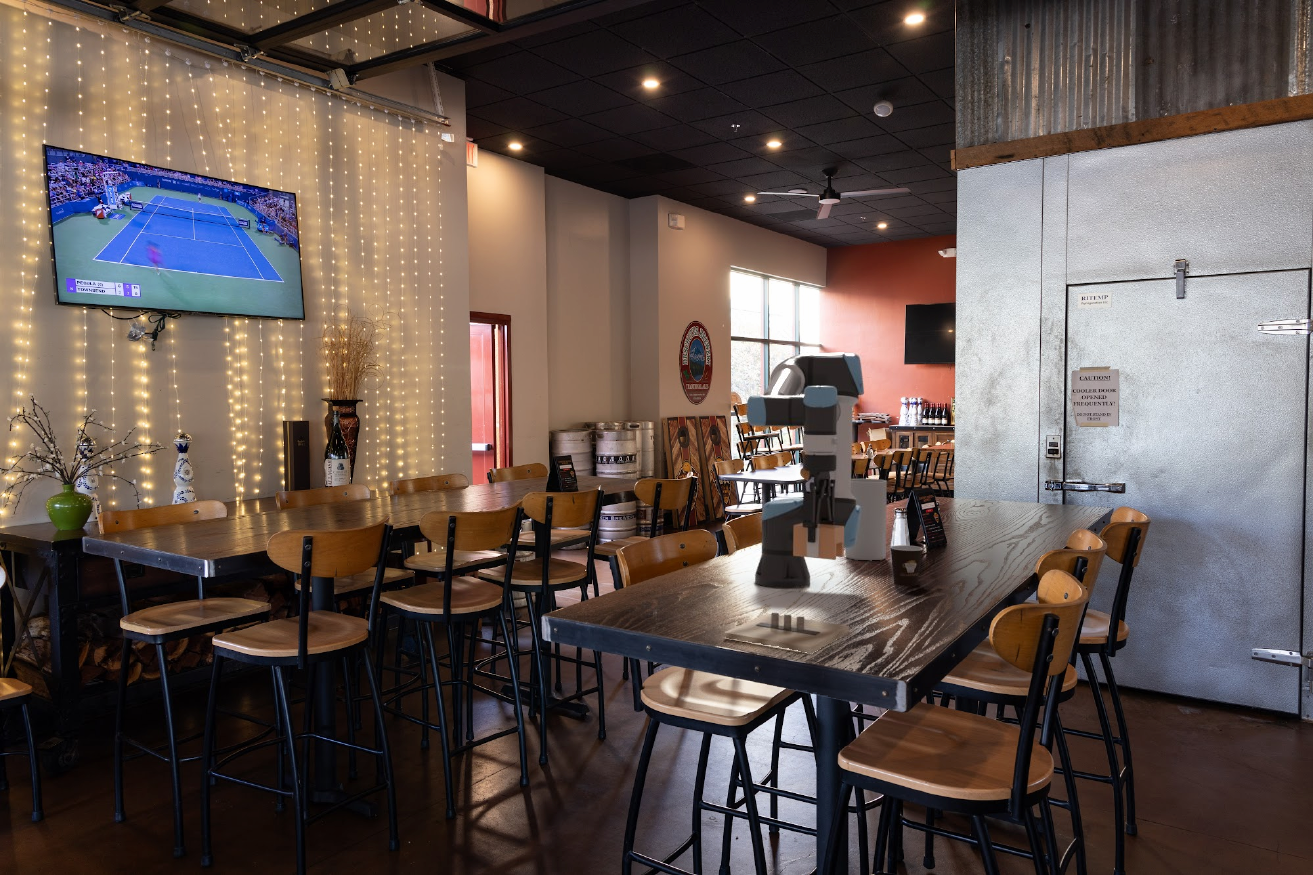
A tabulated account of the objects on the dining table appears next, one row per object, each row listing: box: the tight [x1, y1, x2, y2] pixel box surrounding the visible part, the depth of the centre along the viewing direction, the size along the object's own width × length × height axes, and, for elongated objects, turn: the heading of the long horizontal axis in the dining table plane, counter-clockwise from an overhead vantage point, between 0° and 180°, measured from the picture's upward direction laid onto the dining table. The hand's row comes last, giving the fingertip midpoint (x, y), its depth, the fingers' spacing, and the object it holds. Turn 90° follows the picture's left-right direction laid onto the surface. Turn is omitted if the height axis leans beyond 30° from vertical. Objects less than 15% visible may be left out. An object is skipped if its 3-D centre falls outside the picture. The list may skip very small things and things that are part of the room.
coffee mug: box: [889, 544, 936, 587], centre depth 243 cm, size 12×9×10 cm
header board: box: [723, 612, 850, 655], centre depth 189 cm, size 20×20×4 cm
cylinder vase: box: [844, 478, 888, 562], centre depth 282 cm, size 12×12×25 cm
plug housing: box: [793, 523, 845, 561], centre depth 201 cm, size 10×6×7 cm, turn 57°
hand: (818, 554), depth 201 cm, fingers closed on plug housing, 6 cm apart
